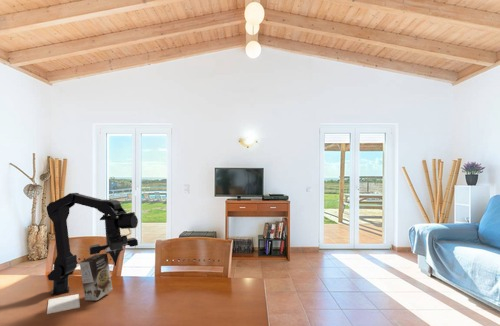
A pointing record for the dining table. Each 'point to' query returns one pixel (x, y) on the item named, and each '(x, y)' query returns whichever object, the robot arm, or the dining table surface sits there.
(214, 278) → the dining table surface
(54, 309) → the mat
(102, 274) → the coffee box
